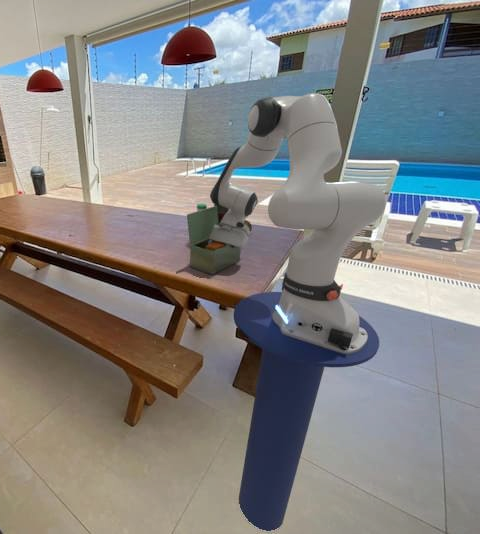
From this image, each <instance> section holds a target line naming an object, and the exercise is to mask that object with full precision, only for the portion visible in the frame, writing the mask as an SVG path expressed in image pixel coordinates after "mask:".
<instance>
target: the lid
mask: <svg viewBox="0 0 480 534" xmlns="http://www.w3.org/2000/svg"><path fill="white" fill-rule="evenodd" d="M186 221H187V229H188V239H189V245H193V244H195V243H196V242H199V241H201V240H204V239H206V238H209V236H210V233H211V231H212V230H213V227H214V225H217V223H218V212H217V206H214V205H213V206H211V207H207V208H206V209H204V210H201V211H197V210H196V211H194V212H190V213H188V214H186Z"/></svg>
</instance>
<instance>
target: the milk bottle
mask: <svg viewBox="0 0 480 534" xmlns="http://www.w3.org/2000/svg"><path fill="white" fill-rule="evenodd" d="M207 208H208V205H207V204H206V203H198V204H197V205H196V212H197V211H201V210H204V209H207ZM201 241H203V240H201ZM201 241H199V242H201ZM196 243H198V242H196Z"/></svg>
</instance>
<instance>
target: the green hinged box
mask: <svg viewBox="0 0 480 534" xmlns="http://www.w3.org/2000/svg"><path fill="white" fill-rule="evenodd" d="M209 240H210V239H206V240H203V241H201V242H198V243H193V244H190V248H189V249H190V252H189V267H190V268H192V269H195V270H199V271H200V272H204V273H207V274H209V275H215V274H217V273H219V272H220V271H221V272H222V270H225V269H227V268H228V267H231V266H233V265H235V264H236V263H238V262H240V261H241V251H242V250H238V249H234V246H233V245H231V244H229V245H227V246H224V247H222V248H220V249H217V250H215V251H212V250H208V249H205V246H206V245H208V242H209Z"/></svg>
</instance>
